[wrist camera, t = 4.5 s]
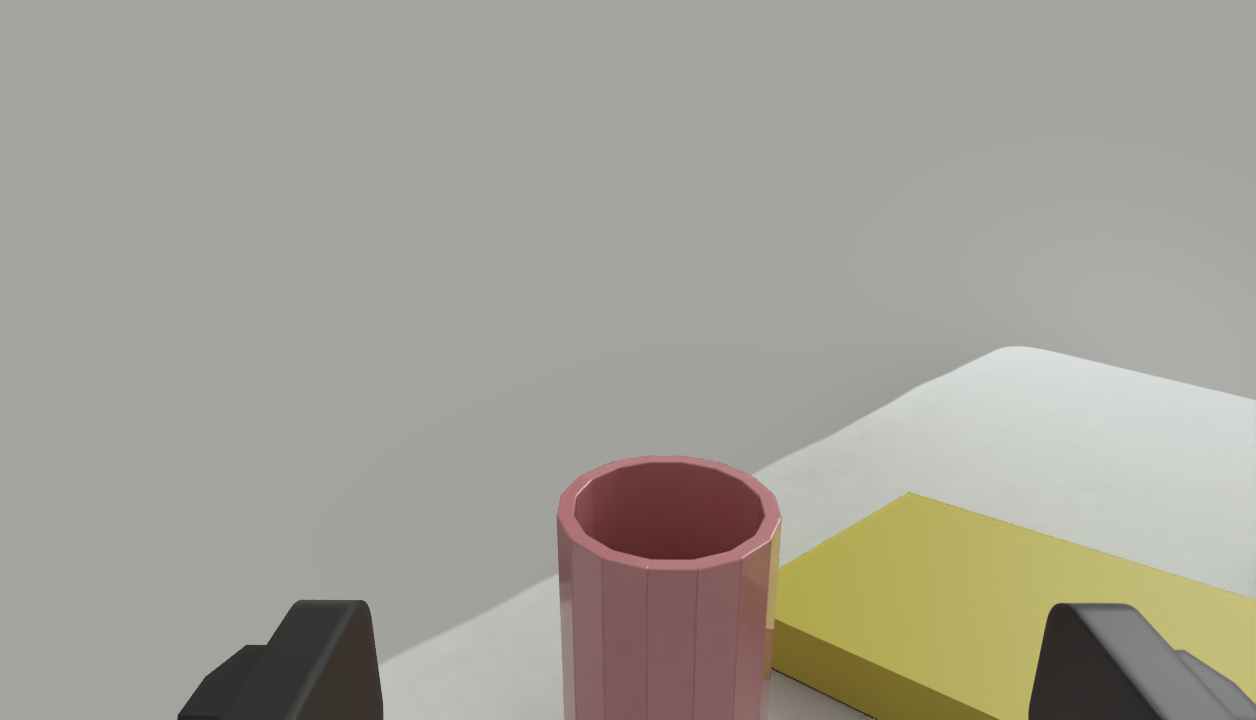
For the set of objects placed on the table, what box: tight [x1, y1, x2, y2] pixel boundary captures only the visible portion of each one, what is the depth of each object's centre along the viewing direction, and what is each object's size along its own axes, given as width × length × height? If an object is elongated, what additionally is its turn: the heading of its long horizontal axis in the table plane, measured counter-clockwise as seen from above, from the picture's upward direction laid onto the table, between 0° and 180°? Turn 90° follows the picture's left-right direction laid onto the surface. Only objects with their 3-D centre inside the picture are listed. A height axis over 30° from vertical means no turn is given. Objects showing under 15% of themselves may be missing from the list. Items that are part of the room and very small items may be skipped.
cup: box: [557, 456, 782, 720], centre depth 23 cm, size 6×6×10 cm
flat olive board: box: [771, 492, 1256, 720], centre depth 28 cm, size 12×2×24 cm
